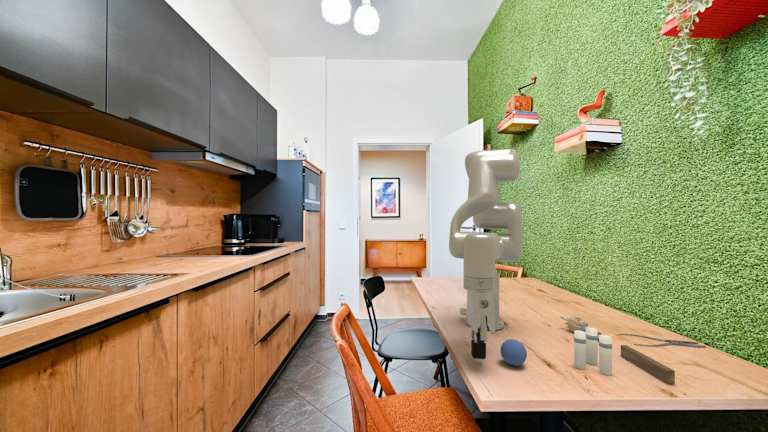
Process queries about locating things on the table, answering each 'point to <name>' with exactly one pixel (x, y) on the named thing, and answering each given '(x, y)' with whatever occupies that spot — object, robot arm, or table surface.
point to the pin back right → (605, 354)
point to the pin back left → (591, 346)
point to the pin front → (580, 349)
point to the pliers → (671, 342)
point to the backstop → (648, 364)
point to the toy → (576, 324)
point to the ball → (513, 352)
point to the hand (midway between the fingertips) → (478, 357)
